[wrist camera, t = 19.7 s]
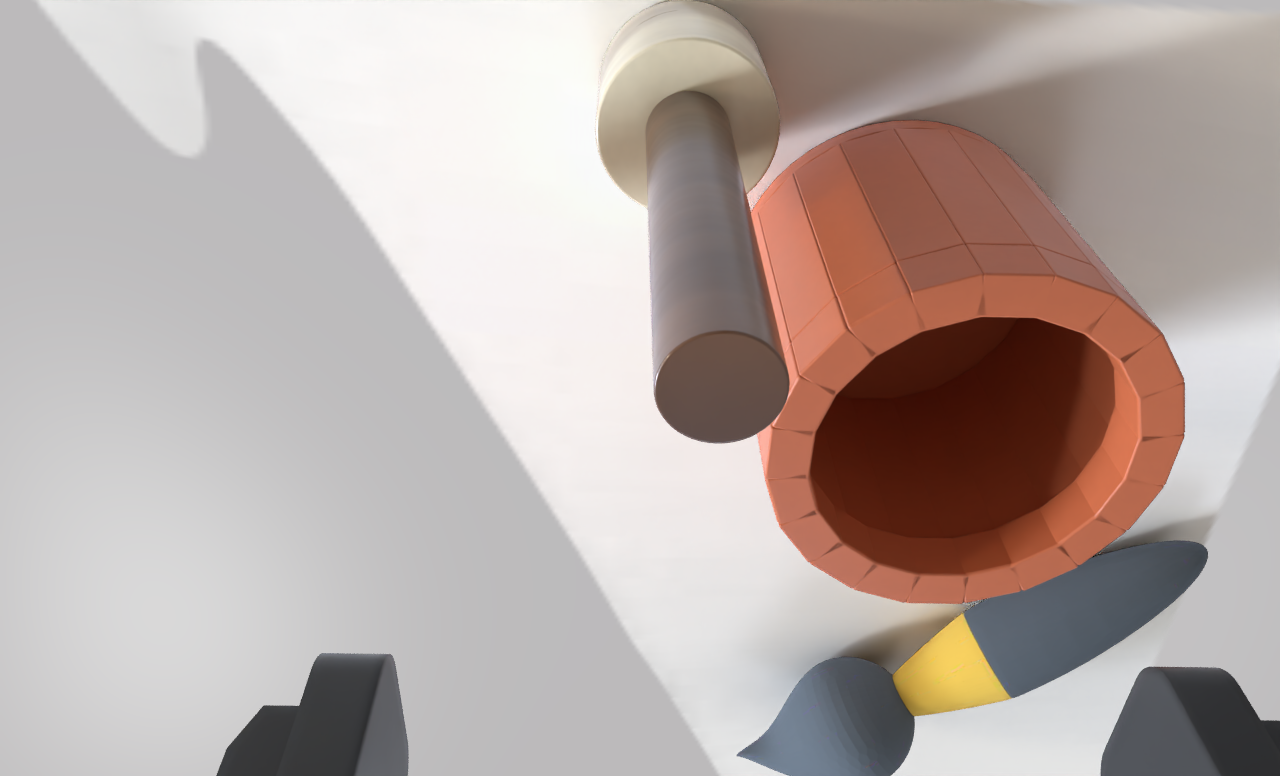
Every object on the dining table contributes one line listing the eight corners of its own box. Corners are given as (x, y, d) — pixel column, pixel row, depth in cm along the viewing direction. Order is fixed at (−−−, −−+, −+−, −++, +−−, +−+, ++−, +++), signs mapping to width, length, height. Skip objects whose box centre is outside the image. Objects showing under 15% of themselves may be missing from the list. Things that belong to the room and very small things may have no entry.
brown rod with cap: (599, -4, 28) (571, 252, 15) (771, 1, 29) (893, 259, 15) (598, 161, 31) (574, 502, 18) (756, 164, 31) (849, 506, 18)
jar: (746, 114, 30) (789, 269, 22) (1080, 122, 31) (1248, 278, 22) (722, 394, 36) (750, 601, 28) (1005, 399, 36) (1117, 606, 28)
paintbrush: (1153, 466, 38) (1217, 561, 34) (1203, 545, 40) (1269, 643, 36) (717, 687, 44) (725, 789, 40) (780, 744, 47) (794, 846, 43)
